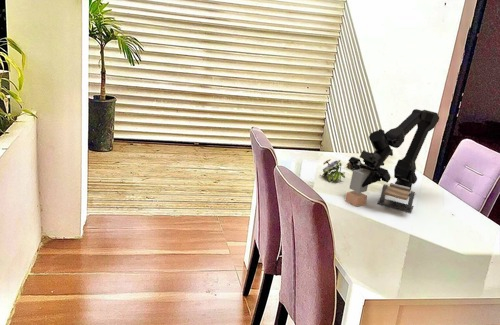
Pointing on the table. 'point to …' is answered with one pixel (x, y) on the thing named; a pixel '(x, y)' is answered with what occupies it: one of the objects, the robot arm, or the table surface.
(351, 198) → the plinth
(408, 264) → the table surface
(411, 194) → the trapdoor frame
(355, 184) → the slate block
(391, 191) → the trapdoor
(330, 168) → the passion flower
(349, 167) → the decorative rock
